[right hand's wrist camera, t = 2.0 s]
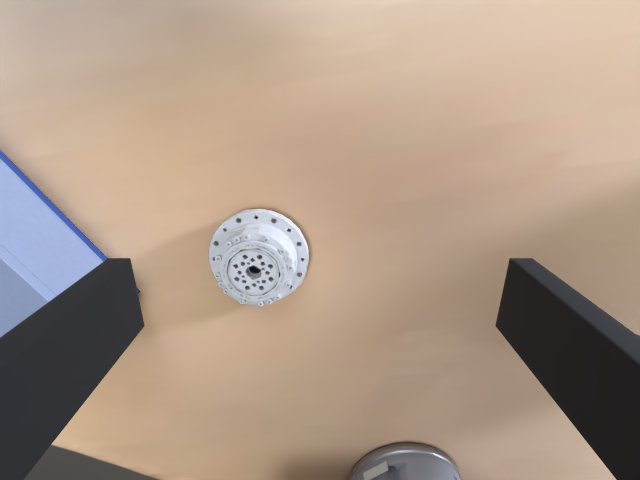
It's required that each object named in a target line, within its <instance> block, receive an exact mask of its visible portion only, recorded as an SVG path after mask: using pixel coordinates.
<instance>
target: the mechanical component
mask: <svg viewBox="0 0 640 480" xmlns="http://www.w3.org/2000/svg"><path fill="white" fill-rule="evenodd" d="M239 218H240V219H241V220H240V219H239ZM272 218H275V219H276V220H274V219H272ZM217 241H218V242H217ZM308 259H309V256H308V246H307V243H306V240H305V238H304V236H303V235H302V233H301V231H300V229H299V228H298V227H297V226H296V225H295V224H294V223H293V222H292V221H291V220H289V219H288V218H286V217H285V216H283V215H282V214H279V213H276V212H274V211H271V210H265V209H250V210H243V211H241V212H239V213H237V214H234V215H232V216H230V217H229V218H228V219H227V220H225V221H224V222H223V223H222V224H221V226H220V227H219V228H218V229H217V231H216V232H215V234H214V236H213V238H212V240H211V243H210V247H209V262H210V266H211V269H212V271H213V274H214V277H215V278H216V279H217V281H218V286H219V287H221V288H222V289H223V290H224V291H223V293H224V294H228V295H229V296H230V297H232V298H234V299H235V300H237V301H239V303H240V304H244V303H245V304H250V305H258V306H260V307H261V306H263V305H265V304H272V302H274V301H276V300H280V299H282V298H284V297H286V296H287V295H289V294H290V293H292V292H293V291H294V290H295V289H296V288H297V287H298V286H299V285H300V284H301V283H302V281H303V279H304V277H305V274H306V271H307V266H308Z"/></svg>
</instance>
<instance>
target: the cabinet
mask: <svg viewBox="0 0 640 480" xmlns="http://www.w3.org/2000/svg"><path fill="white" fill-rule="evenodd" d="M105 260H107V258H106V257H105V256H104V255H103V254H102V253H101V252H100V251H99V250H98V248H97V247H96V246H95V245H94V244H93V243H92V242H91V241H90V240H89V239H88V238H87V237H86V236H85V235H84V234H83V233H82V232H81V231H80V230H79V229H78V228H77V227H76V226H75V225H74V224H73V223H72V222H71V221H70V220H69V219H68V218H67V217H66V216H65V215H64V214H63V213H62V212H61V211H60V210H59V209H58V208H57V207H56V206H55V205H54V204H53V203H52V202H51V201H50V200H49V199H48V198H47V197H46V196H45V195H44V194H43V193H42V192H41V191H40V190H39V189H38V188H37V187H36V186H35V185H34V184H33V183H32V182H31V181H30V180H29V179H28V178H27V177H26V176H25V175H24V174H23V173H22V172H21V171H20V170H19V169H18V168H17V167H16V166H15V165H14V164H13V163H12V162H11V161H10V160H9V159H8V158H7V157H6V156H5V155H4V154H3V153H2V152H1V151H0V337H2V336H3V335H4V334H6V333H7V332H8V331H10V330H11V329H12V328H14V327H15V326H17V325H18V324H19V323H21V322H22V321H23V320H25V319H26V318H27V317H29V316H30V315H32V314H33V313H34V312H36V311H37V310H38V309H40V308H41V307H42V306H44V305H45V304H47V303H48V302H49V301H51V300H52V299H53V298H55V297H56V296H57V295H59V294H60V293H62V292H63V291H64V290H66V289H67V288H68V287H70V286H71V285H72V284H74V283H75V282H77V281H78V280H79V279H81V278H82V277H83V276H85V275H86V274H87V273H89V272H90V271H92V270H93V269H94V268H96V267H97V266H98V265H100V264H101V263H102V262H104V261H105ZM139 292H140V291H139V290H138V289H137V293H139Z"/></svg>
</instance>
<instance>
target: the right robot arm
mask: <svg viewBox="0 0 640 480" xmlns="http://www.w3.org/2000/svg"><path fill="white" fill-rule="evenodd" d="M143 327H144V322H143V317H142V312H141V307H140V303H139V298H138V293H137V288H136V284H135V279H134V274H133V270H132V265H131V260H130V258H108V259H107V260H105V261H104V262H102V263H101V264H100V265H98V266H97V267H96V268H94V269H93V270H92V271H90V272H89V273H87V274H86V275H85V276H83V277H82V278H81V279H79V280H78V281H77V282H75V283H74V284H72V285H71V286H70V287H68V288H67V289H66V290H64V291H63V292H62V293H60V294H59V295H57V296H56V297H55V298H53V299H52V300H51V301H49V302H48V303H47V304H45V305H44V306H42V307H41V308H40V309H38V310H37V311H36V312H34V313H33V314H32V315H30V316H29V317H27V318H26V319H25V320H23V321H22V322H21V323H19V324H18V325H17V326H15V327H14V328H12V329H11V330H10V331H8V332H7V333H6V334H4V335H3V336H2V337H0V480H23V479H24V478H25V477H26V476H27V474H28V473H29V472H30V470H31V469H32V468H33V467H34V465H35V464H36V463H37V462H38V460H39V459H40V458H41V456H42V455H43V454H44V453H45V451H46V450H47V449H48V448H49V446H50V445H51V444H52V443H53V441H54V440H55V439H56V437H57V436H58V435H59V434H60V432H61V431H62V430H63V429H64V427H65V426H66V425H67V423H68V422H69V421H70V420H71V418H72V417H73V416H74V415H75V413H76V412H77V411H78V410H79V408H80V407H81V406H82V404H83V403H84V402H85V401H86V399H87V398H88V397H89V396H90V394H91V393H92V392H93V390H94V389H95V388H96V387H97V385H98V384H99V383H100V382H101V380H102V379H103V378H104V377H105V375H106V374H107V373H108V371H109V370H110V369H111V368H112V366H113V365H114V364H115V363H116V361H117V360H118V359H119V357H120V356H121V355H122V354H123V352H124V351H125V350H126V349H127V347H128V346H129V345H130V343H131V342H132V341H133V340H134V338H135V337H136V336H137V335H138V333H139V332H140V331H141V330H142V328H143ZM496 327H497V328H498V330H499V331H500V332H501V333H502V335H503V336H504V337H505V338H506V340H507V341H508V342H509V343H510V345H511V346H512V347H513V349H514V350H515V351H516V352H517V354H518V355H519V356H520V357H521V359H522V360H523V361H524V363H525V364H526V365H527V366H528V368H529V369H530V370H531V371H532V373H533V374H534V375H535V377H536V378H537V379H538V380H539V382H540V383H541V384H542V385H543V387H544V388H545V389H546V390H547V392H548V393H549V394H550V396H551V397H552V398H553V399H554V401H555V402H556V403H557V404H558V406H559V407H560V408H561V410H562V411H563V412H564V413H565V415H566V416H567V417H568V418H569V420H570V421H571V422H572V423H573V425H574V426H575V427H576V429H577V430H578V431H579V432H580V434H581V435H582V436H583V437H584V439H585V440H586V441H587V443H588V444H589V445H590V446H591V448H592V449H593V450H594V451H595V453H596V454H597V455H598V456H599V458H600V459H601V460H602V462H603V463H604V464H605V465H606V467H607V468H608V469H609V470H610V472H611V473H612V474H613V476H614V477H615V478H616V479H617V480H640V336H639V335H636V334H634V333H633V332H632V331H630V330H629V329H628V328H626V327H625V326H623V325H622V324H621V323H619V322H618V321H617V320H615V319H614V318H613V317H611V316H610V315H608V314H607V313H606V312H604V311H603V310H602V309H600V308H599V307H598V306H596V305H595V304H593V303H592V302H591V301H589V300H588V299H587V298H585V297H584V296H583V295H581V294H580V293H578V292H577V291H576V290H574V289H573V288H572V287H570V286H569V285H568V284H566V283H565V282H563V281H562V280H561V279H559V278H558V277H557V276H555V275H554V274H553V273H551V272H550V271H548V270H547V269H546V268H544V267H543V266H542V265H540V264H539V263H538V262H536V261H535V260H533V259H532V258H510V260H509V265H508V270H507V274H506V279H505V284H504V288H503V293H502V298H501V303H500V307H499V312H498V317H497V322H496ZM349 480H461V478H460V475H459V472H458V470H457V467H456V465H455V463H454V462H453V461H452V459H451V458H450V457H449V456H448V455H446V454H445V453H444V452H442V451H440V450H438V449H436V448H434V447H431V446H428V445H424V444H417V443H399V444H393V445H388V446H385V447H382V448H379V449H377V450H374V451H373V452H371V453H369V454H367V455H366V456H365V457H363V458H362V459H361V460H360V461H359V462H358V463H357V464H356V465H355V467H354V468H353V470H352V472H351V474H350V477H349Z"/></svg>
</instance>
